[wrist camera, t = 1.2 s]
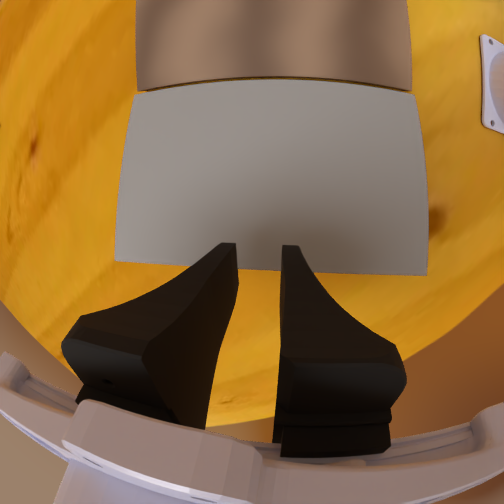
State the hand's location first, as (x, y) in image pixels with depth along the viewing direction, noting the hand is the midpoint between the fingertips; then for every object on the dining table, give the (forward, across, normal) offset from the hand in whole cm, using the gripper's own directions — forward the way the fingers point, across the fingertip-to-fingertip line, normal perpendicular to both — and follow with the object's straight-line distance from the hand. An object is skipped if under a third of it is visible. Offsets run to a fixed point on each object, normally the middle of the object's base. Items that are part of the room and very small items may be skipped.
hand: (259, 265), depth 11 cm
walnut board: (+9, 0, -12) cm, 16 cm away
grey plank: (+6, 0, -2) cm, 6 cm away
